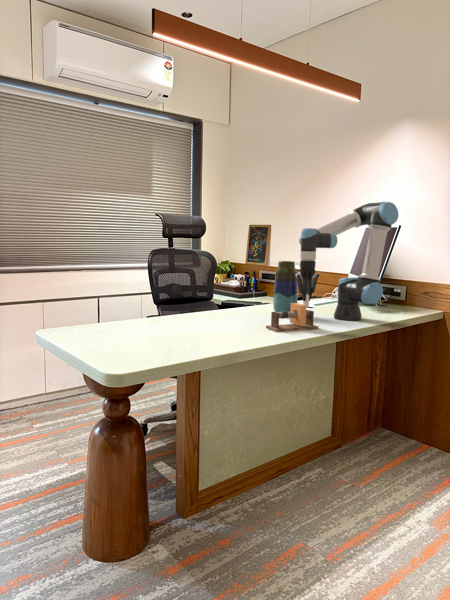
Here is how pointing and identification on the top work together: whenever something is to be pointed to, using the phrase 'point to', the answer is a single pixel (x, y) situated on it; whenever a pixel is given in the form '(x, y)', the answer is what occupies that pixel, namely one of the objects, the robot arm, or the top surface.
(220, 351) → the top surface
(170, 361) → the top surface
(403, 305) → the top surface
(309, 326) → the pipe rig
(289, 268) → the vase
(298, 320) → the collar
